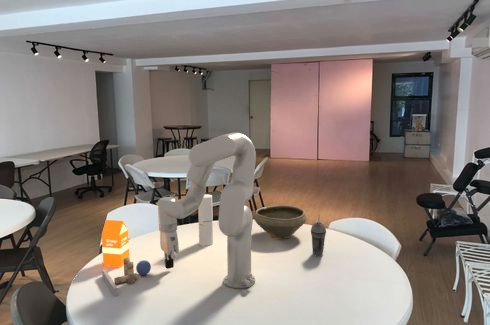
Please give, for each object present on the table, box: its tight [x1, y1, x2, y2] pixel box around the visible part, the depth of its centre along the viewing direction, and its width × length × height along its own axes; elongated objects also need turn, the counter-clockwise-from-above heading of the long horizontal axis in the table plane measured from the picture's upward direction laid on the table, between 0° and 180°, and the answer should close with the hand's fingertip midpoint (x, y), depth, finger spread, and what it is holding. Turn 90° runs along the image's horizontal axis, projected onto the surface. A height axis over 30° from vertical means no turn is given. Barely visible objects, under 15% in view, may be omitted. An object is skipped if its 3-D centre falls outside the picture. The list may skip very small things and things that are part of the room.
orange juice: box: [101, 219, 130, 268], centre depth 175 cm, size 8×9×20 cm
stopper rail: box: [101, 268, 119, 297], centre depth 154 cm, size 20×1×3 cm, turn 32°
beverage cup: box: [310, 213, 327, 257], centre depth 183 cm, size 7×7×20 cm
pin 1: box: [123, 258, 131, 276], centre depth 160 cm, size 2×2×8 cm
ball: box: [135, 259, 152, 276], centre depth 164 cm, size 6×6×6 cm
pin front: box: [113, 272, 138, 285], centre depth 158 cm, size 2×2×8 cm
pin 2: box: [127, 261, 135, 285], centre depth 156 cm, size 2×2×8 cm
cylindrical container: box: [197, 193, 214, 247], centre depth 198 cm, size 7×7×25 cm
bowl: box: [253, 204, 307, 240], centre depth 210 cm, size 28×28×14 cm
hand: (169, 267), depth 167 cm, fingers closed
